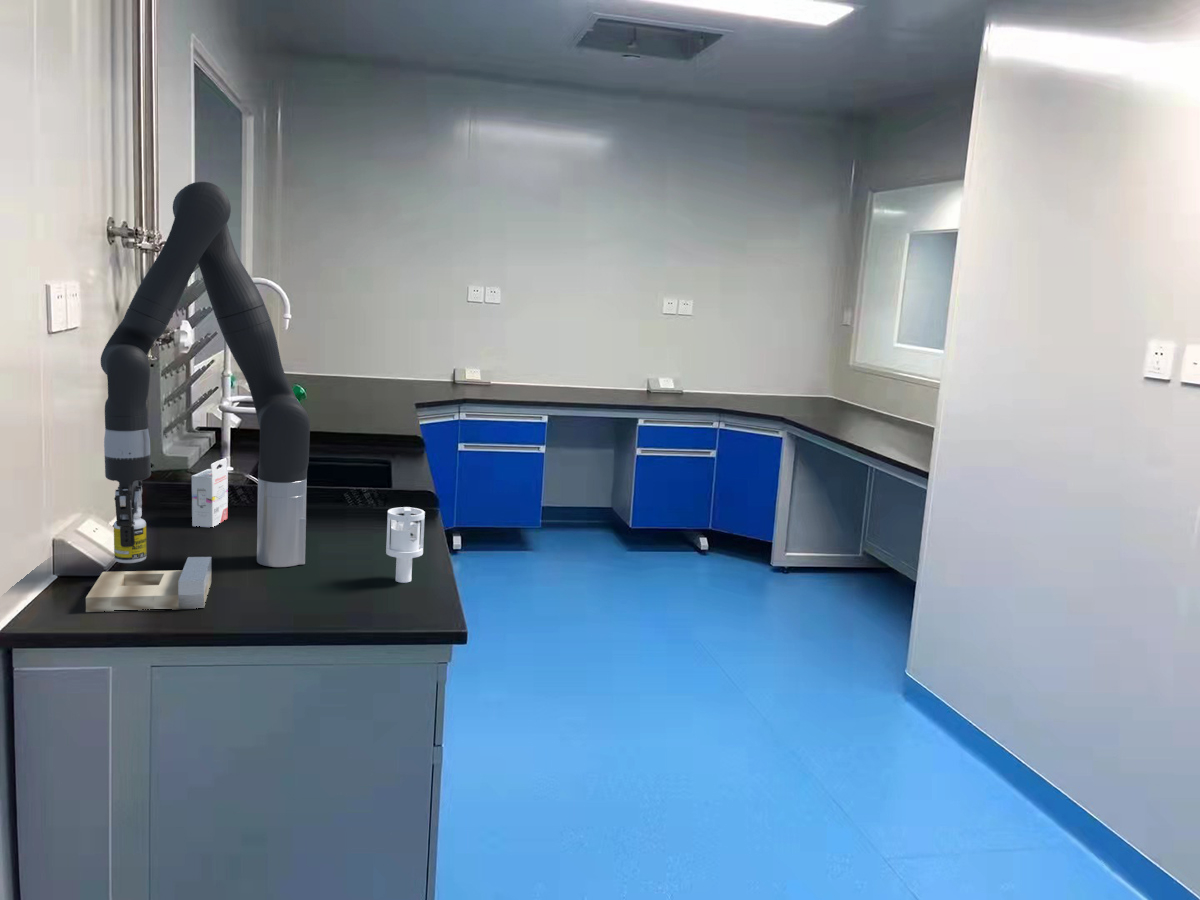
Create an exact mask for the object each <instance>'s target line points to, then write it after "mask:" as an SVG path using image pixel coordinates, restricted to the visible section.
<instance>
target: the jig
mask: <svg viewBox="0 0 1200 900" xmlns="http://www.w3.org/2000/svg"><path fill="white" fill-rule="evenodd" d="M211 584H212V556H188V557H187V559H186V561H185V563H184V565H183V569H182V570H179V569H178V570H176V569H175V570H136V571H135V570H134V571H132V570H131V571H125V570H124V571H123V570H121V571H102V572H101V573H100V576H99V577H97V580H96V581H95V582H94V585H93V586H92V587H91V589H90V591H89V592H88V594H87V595H86V597H85V613H96V612H97V613H100V612H102V613H103V612H104V611H105V612H115V611H114V610H138V611H151V610H150V609H172V610H193V609H194V610H196V608H197V609H198V608H204V609H205V605H206V603H205V602H207V598H208V596H207V595H209V592H210V589H209V588H211ZM142 609H144V610H142ZM145 609H146V610H145ZM147 609H149V610H147ZM105 612H104V613H105Z"/></svg>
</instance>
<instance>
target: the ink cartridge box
mask: <svg viewBox="0 0 1200 900" xmlns="http://www.w3.org/2000/svg"><path fill="white" fill-rule="evenodd" d="M219 465H220V466H221V467H219ZM217 467H219V468H217ZM228 472H229V470H228V459H227V457H224V458H222V459H218V460H217V461H215V462H213V463H212V462H211V464H210V468H207V469H205V470H202V471H200V472H198V473H196V474H193V475H191V517H192V519H191V521H192V522H191V526H192V527H196V526H197V527H198V528H199V526H200V528H210V527H213V528H215V527H216V526H218V525H220V524H221V523H223V522H224V520H225V521H226V520H228V517H229V516H228V513H229V512H228V508H229V506H228V503H229V498H228V497H229V492H228V491H229V489H228V488H229V483H228V482H229V481H228V480H229V473H228ZM219 523H220V524H219ZM214 526H215V527H214ZM197 527H196V528H197Z"/></svg>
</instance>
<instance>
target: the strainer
mask: <svg viewBox="0 0 1200 900" xmlns="http://www.w3.org/2000/svg"><path fill="white" fill-rule="evenodd" d="M402 514H403V515H402ZM425 515H426V511H424V510H423V509H421V508H417V507H410V506H403V507H401V506H400V507H393V508H389V509H388V510H387V518H386V519H387V520H386V523H387V524H386V544H385V545H386V547H385V548H386V549H385V552H386V553H385V554H386V555H387V556H389V557H393V558H395V559H396V561H395V562H396V563H395V566H396V567H395V582H398V583H402V584H403V583H405V584H406V583H409V582H410V583H411V582H412V571H413V559H414V558H419V557H421V556H423V554H424V539H425V538H424V537H425V517H426V516H425ZM411 534H412V535H411Z"/></svg>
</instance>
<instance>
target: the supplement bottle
mask: <svg viewBox="0 0 1200 900" xmlns="http://www.w3.org/2000/svg"><path fill="white" fill-rule="evenodd" d="M132 509H133V508H132ZM142 511H143V507H142V508H140V507H138V513H137V514H136V515H135V525H134V539H135V544H134V546H132V547H122V546H121V538H120V527H119V526H117V524H116V522H117V520H115V521H114V522H113V552H114V553H113V555H114V561H115V562H118V563H121V564H135V563H139V562H144V561H145V560H146V559H147V550H148V549H147V522H146V520H145V519H144V518H141V517H142V515H143V512H142ZM123 519H129V518H128V515H123Z"/></svg>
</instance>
